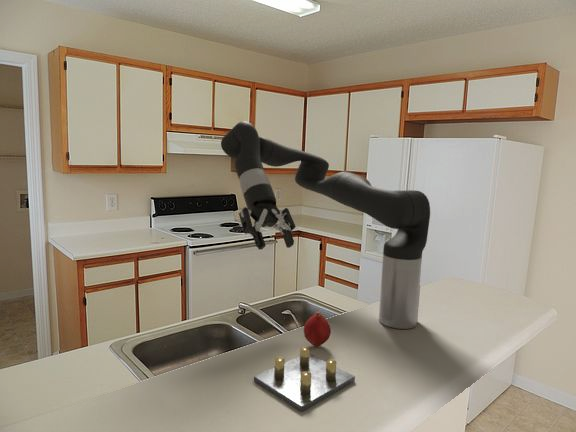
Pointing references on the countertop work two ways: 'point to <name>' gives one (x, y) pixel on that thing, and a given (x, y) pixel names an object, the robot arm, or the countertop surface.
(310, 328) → the onion
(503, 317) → the countertop surface
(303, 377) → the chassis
